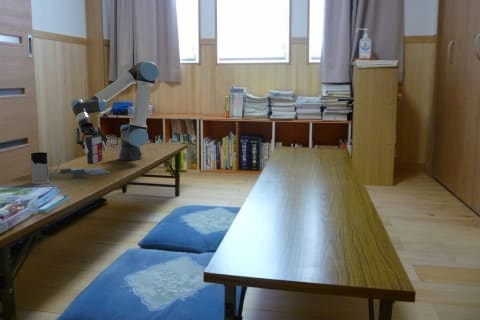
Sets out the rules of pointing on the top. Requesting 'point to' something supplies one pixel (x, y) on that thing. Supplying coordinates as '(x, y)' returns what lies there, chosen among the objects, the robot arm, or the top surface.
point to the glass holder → (40, 168)
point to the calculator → (94, 149)
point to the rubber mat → (96, 171)
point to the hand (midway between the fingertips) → (96, 151)
